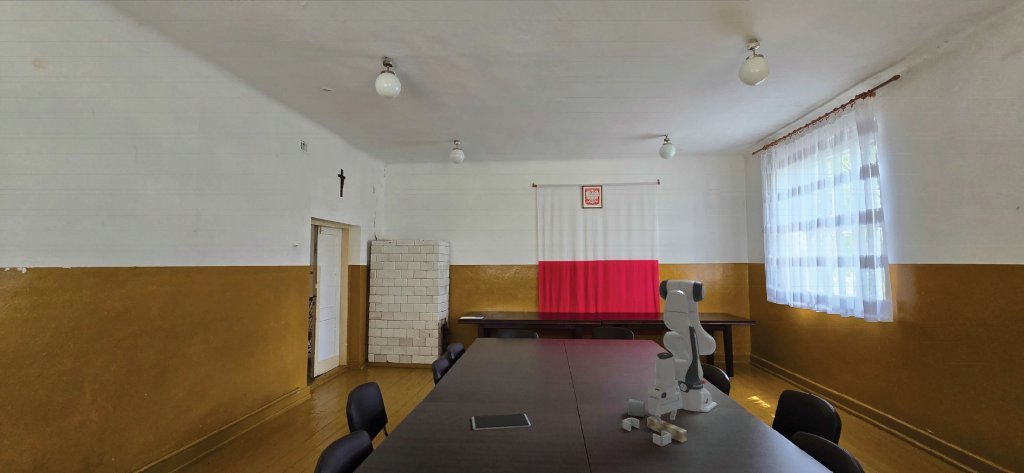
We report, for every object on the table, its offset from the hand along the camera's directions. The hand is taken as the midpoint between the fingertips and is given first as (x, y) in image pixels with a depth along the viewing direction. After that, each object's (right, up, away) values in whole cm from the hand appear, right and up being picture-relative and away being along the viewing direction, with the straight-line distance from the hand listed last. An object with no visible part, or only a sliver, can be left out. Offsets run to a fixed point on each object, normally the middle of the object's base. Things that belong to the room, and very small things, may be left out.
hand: (666, 421), depth 172 cm
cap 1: (-14, -6, +6) cm, 17 cm away
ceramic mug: (-7, -7, +21) cm, 23 cm away
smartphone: (-75, -7, +11) cm, 76 cm away
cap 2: (-5, -5, -9) cm, 11 cm away
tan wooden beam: (0, -6, 0) cm, 6 cm away
